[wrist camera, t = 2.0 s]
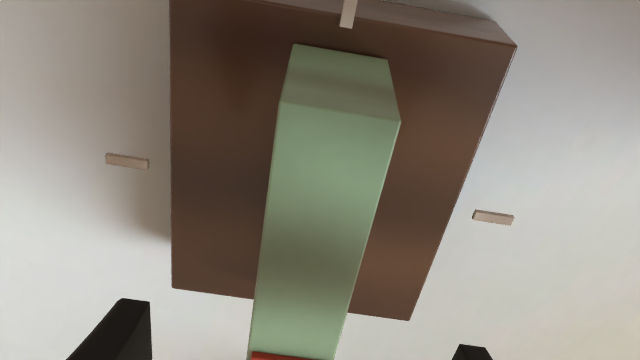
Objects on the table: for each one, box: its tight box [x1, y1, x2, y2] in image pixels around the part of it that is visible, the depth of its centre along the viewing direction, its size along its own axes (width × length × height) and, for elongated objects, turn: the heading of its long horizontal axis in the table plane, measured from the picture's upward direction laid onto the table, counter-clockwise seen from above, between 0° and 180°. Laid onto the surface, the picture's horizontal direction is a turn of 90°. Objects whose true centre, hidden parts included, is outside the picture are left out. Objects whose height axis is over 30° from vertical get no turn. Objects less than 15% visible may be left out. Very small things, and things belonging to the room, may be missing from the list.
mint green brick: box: [246, 44, 401, 360], centre depth 15 cm, size 10×3×4 cm, turn 171°
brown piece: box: [106, 0, 517, 321], centre depth 18 cm, size 14×14×3 cm
